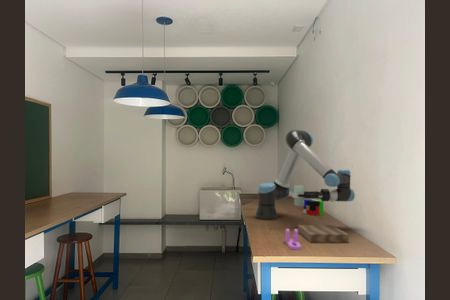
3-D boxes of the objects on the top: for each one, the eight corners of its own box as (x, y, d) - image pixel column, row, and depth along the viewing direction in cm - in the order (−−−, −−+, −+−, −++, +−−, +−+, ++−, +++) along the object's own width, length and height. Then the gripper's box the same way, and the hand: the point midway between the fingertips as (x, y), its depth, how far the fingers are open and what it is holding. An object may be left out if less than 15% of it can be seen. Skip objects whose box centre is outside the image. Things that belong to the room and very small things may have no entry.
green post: (295, 206, 181) (296, 186, 181) (292, 204, 187) (293, 185, 187) (305, 206, 181) (305, 186, 181) (302, 204, 187) (302, 185, 187)
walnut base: (310, 242, 153) (310, 234, 153) (297, 232, 173) (298, 225, 173) (348, 242, 154) (348, 234, 154) (332, 232, 174) (332, 225, 174)
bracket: (285, 241, 154) (285, 227, 154) (296, 241, 154) (296, 228, 154) (290, 249, 141) (290, 234, 141) (302, 250, 141) (302, 235, 141)
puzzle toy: (303, 213, 229) (303, 199, 229) (313, 212, 233) (313, 199, 233) (312, 215, 220) (312, 201, 220) (323, 214, 224) (323, 201, 224)
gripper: (334, 203, 176) (295, 203, 174) (321, 198, 195) (286, 198, 193) (334, 190, 176) (295, 190, 174) (322, 187, 195) (286, 186, 193)
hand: (291, 194), depth 184 cm, fingers closed on green post, 6 cm apart
